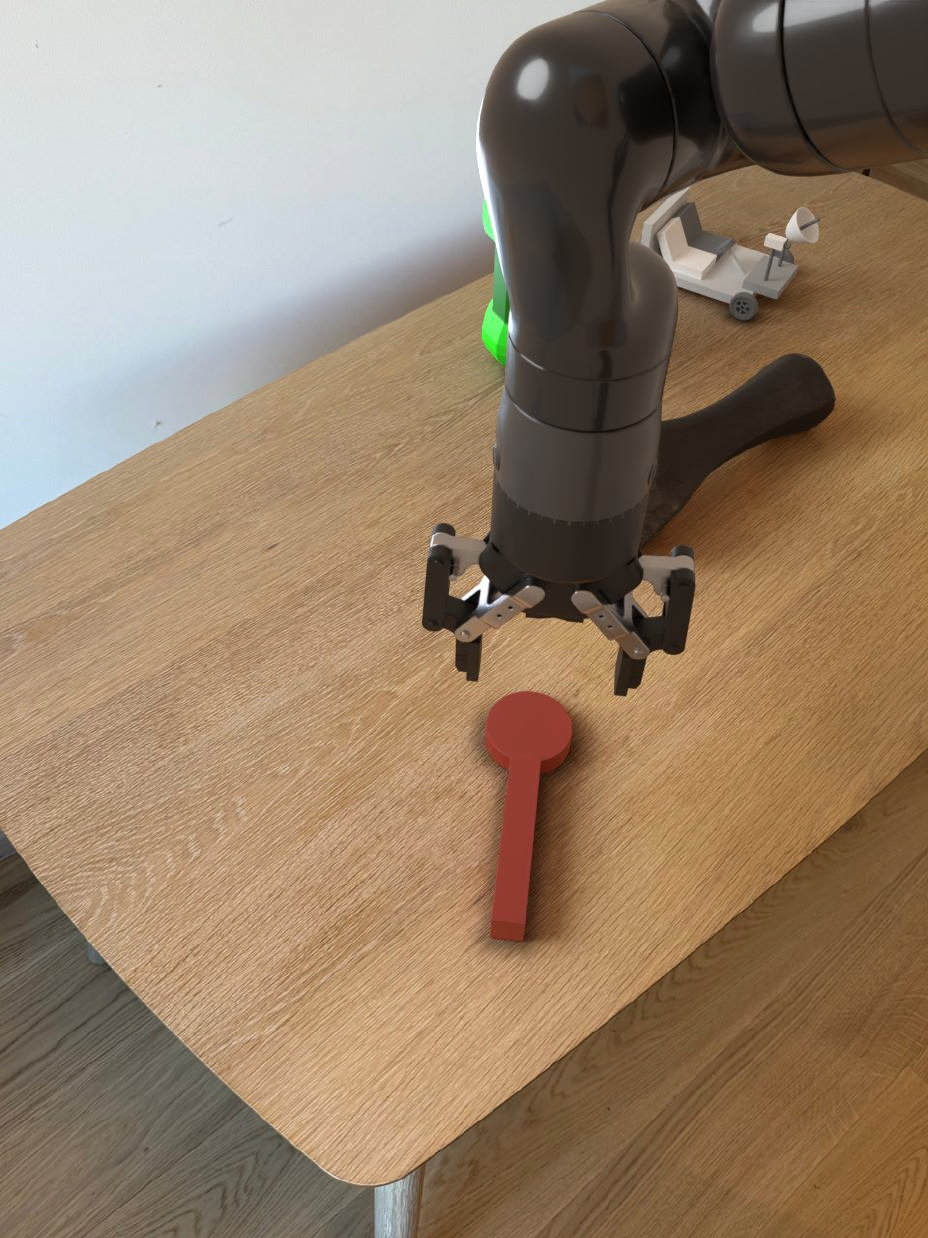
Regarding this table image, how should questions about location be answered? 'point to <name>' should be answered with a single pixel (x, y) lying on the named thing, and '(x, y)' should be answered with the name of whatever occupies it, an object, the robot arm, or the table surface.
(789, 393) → the dark brown bone
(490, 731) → the red flat paddle piece
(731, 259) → the toy car
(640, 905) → the table surface
